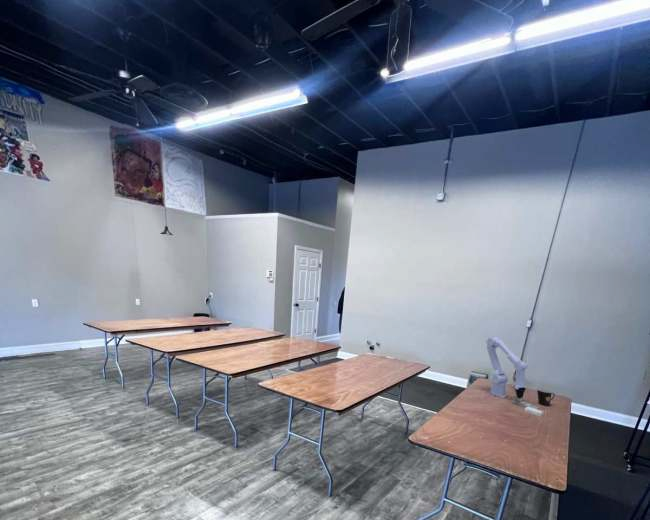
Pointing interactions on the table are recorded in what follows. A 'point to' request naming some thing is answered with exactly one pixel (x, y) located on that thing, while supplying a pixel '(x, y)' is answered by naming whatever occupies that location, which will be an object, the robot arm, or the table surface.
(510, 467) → the table surface
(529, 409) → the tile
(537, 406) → the mat
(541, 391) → the coffee mug
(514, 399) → the turner
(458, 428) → the table surface
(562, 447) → the table surface
